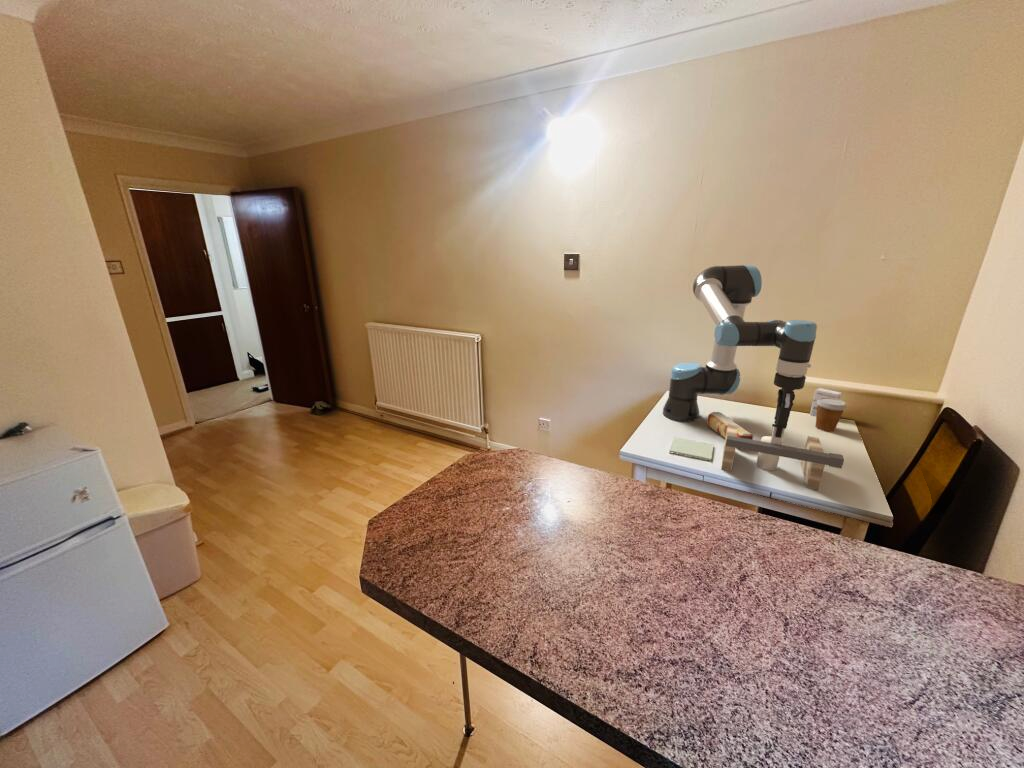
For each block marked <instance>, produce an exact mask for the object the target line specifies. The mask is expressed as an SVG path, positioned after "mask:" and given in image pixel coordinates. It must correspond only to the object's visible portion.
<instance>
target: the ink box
mask: <svg viewBox="0 0 1024 768" xmlns="http://www.w3.org/2000/svg"><path fill="white" fill-rule="evenodd" d="M842 395H843V392H840V391H835V390H831V389H826V388H821V387H819V388H817V389H815V391H814V394H813V399H812V403H811V408H810V412H809V415H810V416H813V417H816V416H817V401H818V399H819V398H822V397H828V398H835V399H839V400H842Z"/></svg>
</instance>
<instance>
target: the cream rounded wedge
mask: <svg viewBox="0 0 1024 768" xmlns="http://www.w3.org/2000/svg"><path fill="white" fill-rule="evenodd" d="M771 437H772V435H764V436H762V437H761V439H760V441H763V442H768V443H770V442H771ZM783 442H784V441H782V443H781V445H783ZM779 461H780V456H776V455H771V454H766V453H761V452H758V455H757V460H756V464H757V465H756V466H757V467H758V468H759V467H760V468H759V469H762V470H765V471H768V472H773V471H777V469H778V464H779Z"/></svg>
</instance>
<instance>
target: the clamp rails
mask: <svg viewBox="0 0 1024 768" xmlns="http://www.w3.org/2000/svg"><path fill="white" fill-rule="evenodd" d="M727 435H729V436H735V437H737V423H736V424H732V423H728V426H727V432H726V438H724V445H723V452H722V462H721V470H723V469H724V471H729V472H732V470H733V464H734V458H735V453H736V448H734V447H729V446H726V440H727ZM804 449H808V450H813V451H819V452H824V453H825V451H824V449H823V447H822V443H821V440H820V438H819V437H818V436H817V437H815V436H810V435H807V437H806V441H805V447H804ZM800 465H801V468H802V469H801V470H802V474H803V478H804V479H803V480H804V482H805V486H806V487H805V488H809V489H813V490H817V491H818V490H819V488H820V485H821V481H822V477H823V474H824V470H825V466H826V465H824V464H819V463H813V462H808V461H803V460H801V462H800Z"/></svg>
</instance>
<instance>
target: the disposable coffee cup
mask: <svg viewBox="0 0 1024 768" xmlns="http://www.w3.org/2000/svg"><path fill="white" fill-rule="evenodd" d="M846 409H847V404H846V402H845V401H843V400H842V399H840V400H839V399H835V398H828V397H822V398H819V399H818V401H817V416H815V428H816V427H817V428H816V429H818V430H820V429H821V430H820V431H823V430H824V432H829V431H832V432H834V430H836V428H837V426H838V424H839V422H840V419H841V417H842V415H843V413H844V410H846Z"/></svg>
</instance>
